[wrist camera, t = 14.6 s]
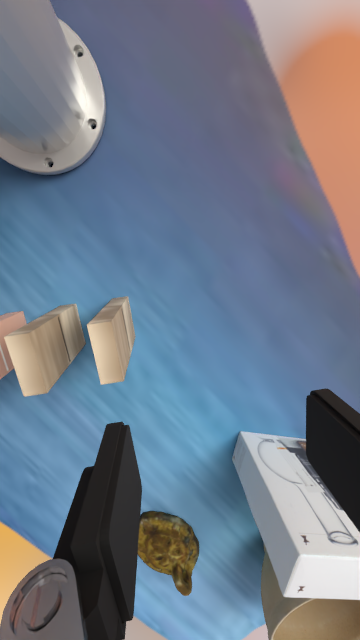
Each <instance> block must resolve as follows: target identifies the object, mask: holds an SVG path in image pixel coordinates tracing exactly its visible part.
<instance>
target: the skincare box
mask: <svg viewBox="0 0 360 640" xmlns="http://www.w3.org/2000/svg"><path fill="white" fill-rule="evenodd" d="M232 461H233V463H234V465H235V468H236V470H237V473H238V476H239V478H240V481H241V483H242V486H243V489H244V491H245V494H246V498H247V501H248V504H249V506H250V509H251V512H252V514H253V517H254V520H255V522H256V525H257V527H258V529H259V531H260V534H261V537H262V539H263V542H264V544H265V547H266V550H267V552H268V555H269V558H270V561H271V563H272V566H273V569H274V571H275V574H276V577H277V579H278V583H279V587H280V589H281V592H282V595H283V596H284V597H291V598H319V599H347V600H360V532H359V531H358V530H357V528H356V527H355V525H354V524H353V523H352V521H351V520H350V519H349V517H348V516H347V514H346V513H345V512H344V510H343V509H342V507H341V506H340V505H339V503H338V502H337V500H336V499H335V498H334V496H333V495H332V493H331V492H330V491H329V489H328V488H327V487H326V485H325V484H324V482H323V481H322V480H321V478H320V477H319V475H318V474H317V473H316V471H315V470H314V468H313V467H312V466H311V464H310V463H309V461H308V459H307V456H306V439H301V438H292V437H284V436H276V435H267V434H259V433H251V432H243V431H240V432H239V436H238V439H237V443H236V446H235V450H234V453H233V457H232Z"/></svg>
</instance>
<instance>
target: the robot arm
mask: <svg viewBox="0 0 360 640" xmlns="http://www.w3.org/2000/svg"><path fill="white" fill-rule="evenodd" d="M80 56H82V57H80ZM105 115H106V102H105V92H104V88H103V85H102V81H101V77H100V74H99V72H98V69H97V66H96V63H95V61H94V60H93V58H92V56H91V54H90V52H89V50H88V48H87V47H86V46H85V44H84V43H83V41H82V40H81V39H80V37H79V36H78V35H77V34H76V33H75V32H74V31H73V30H72V29H71V28H70V27H69V26H68V25H67V24H66V23H64V22H63V21H62V20H60V19H59V18H57V16H56V14H55V12H54V9H53V7H52V5H51V3H50V0H0V157H1V158H2V159H4V160H5V161H7V162H8V163H10V164H12V165H14V166H16V167H18V168H19V169H22V170H25V171H28V172H31V173H35V174H42V175H53V174H60V173H64V172H67V171H70V170H72V169H74V168H76V167H77V166H79V165H81V164H82V163H83V162H84V161H85V160H86V159H87V158H89V156H90V155H91V154H92V152H93V151H94V150H95V148H96V147H97V144H98V142H99V140H100V138H101V136H102V132H103V128H104V124H105ZM93 126H96V129H92V127H93ZM51 163H53V166H52V167H50V164H51ZM306 456H307V459H308V461H309V463H310V464H311V466H312V467H313V468H314V470H315V471H316V473H317V474H318V475H319V477H320V478H321V480H322V481H323V482H324V484H325V485H326V487H327V488H328V489H329V491H330V492H331V493H332V495H333V496H334V498H335V499H336V500H337V502H338V503H339V505H340V506H341V507H342V509H343V510H344V512H345V513H346V514H347V516H348V517H349V519H350V520H351V521H352V523H353V524H354V525H355V527H356V528H357V530H358V531H359V532H360V414H359V413H358V412H357V411H355V410H354V409H353V408H352V407H350V406H349V405H348V404H347V403H345V402H344V401H343V400H342V399H340V398H339V397H338V396H337V395H335V394H334V393H333V392H332V391H330V390H329V389H320V390H314V391H311V393H310V395H308V396H307V399H306ZM141 495H142V486H141V479H140V474H139V469H138V465H137V460H136V455H135V451H134V446H133V441H132V437H131V432H130V427H129V425H124V423H123V422H117V423H111V424H107V425H106V428H105V432H104V435H103V438H102V442H101V445H100V448H99V452H98V455H97V458H96V462H95V465H94V466H92V467H86V468H85V469H84V471H83V473H82V475H81V478H80V481H79V484H78V487H77V490H76V493H75V496H74V499H73V502H72V505H71V508H70V510H69V513H68V516H67V519H66V522H65V525H64V528H63V531H62V534H61V537H60V540H59V543H58V545H57V548H56V551H55V554H54V557H53V559H52V560H48V561H46V562H44V563H42V564H40V565H38V566H37V567H35V568H34V569H33V570H32V571H30V572H29V573H28V574H27V575H26V576H25V577H24V578H23V579H22V580H21V581H20V583H19V584H18V585H17V587H16V588H15V590H14V591H13V593H12V594H11V596H10V598H9V600H8V602H7V604H6V606H5V608H4V611H3V615H2V620H1V624H0V640H123V639H125V628H126V621H130V620H132V618H133V612H134V599H135V584H136V569H137V554H138V540H139V525H140V510H141Z"/></svg>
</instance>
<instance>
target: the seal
mask: <svg viewBox="0 0 360 640" xmlns="http://www.w3.org/2000/svg"><path fill="white" fill-rule="evenodd" d="M138 555H139V557H140V558H141V559H142V560H143V562H144V563H146V564H147V565H148V566H149V567H150V568H152V569H154V570H156V571H158V572H160V573H165V574H168V575H172V577H173V581H174V583H175V586H176V588H177V590H178V591H179V592H181V594H182V595H184V596H187V595H189V594H190V593H191V591H192V580H191V576H192V570H193V569H194V566H195V564H196V562H197V559H198V556H199V542H198V539H197V538H196V536H195V535H194V532H193V530H192V528H191V526H189V525H188V524H187V523H186V522H185V521H184V520H183V519H181V518H179V517H178V516H174V515H170V514H166V513H164V512H155V511H149V512H145V513H143V514H142V515H141V517H140V525H139V540H138Z"/></svg>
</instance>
